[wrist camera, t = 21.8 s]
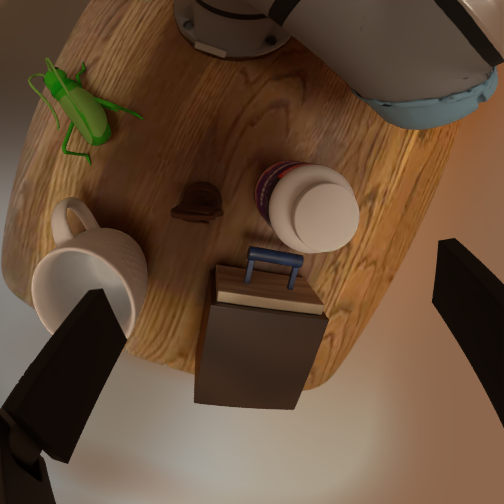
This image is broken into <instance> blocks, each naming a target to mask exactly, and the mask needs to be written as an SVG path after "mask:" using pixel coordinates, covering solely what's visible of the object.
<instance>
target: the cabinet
mask: <svg viewBox="0 0 504 504" xmlns="http://www.w3.org/2000/svg"><path fill="white" fill-rule="evenodd" d="M328 321H329V319H328V318H327V317H326V315H325V313H324V312H322V314H321V315H318V314H309V313H305V314H299V313H291V312H283V311H275V310H267V309H259V308H252V307H244V306H237V305H230V304H223V303H218V301H217V298H216V278H215V271H212V270H210V274H209V280H208V285H207V291H206V297H205V302H204V308H203V314H202V320H201V326H200V332H199V338H198V344H197V351H196V357H195V384H194V403H199V404H207V405H217V406H228V407H241V408H257V409H284V410H294V409H295V406H296V404H297V402H298V399H299V397H300V394H301V392H302V390H303V387H304V385H305V382H306V380H307V377H308V375H309V372H310V370H311V367H312V365H313V362H314V359H315V357H316V354H317V351H318V349H319V346H320V343H321V341H322V338H323V335H324V332H325V330H326V327H327V324H328Z"/></svg>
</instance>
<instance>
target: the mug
mask: <svg viewBox="0 0 504 504" xmlns="http://www.w3.org/2000/svg"><path fill="white" fill-rule="evenodd" d="M67 208H70V209H71V210H72V211H73V212H74V213H75V214H76V215H77V216H78V217H79V219H80V220H81V221H82V223H83V225H84V227H85V229H86V231H85V232H81V233H79V234H76V235H75V236H73V234H72V232H71V230H70V227H69V225H68V222H67V218H66V211H67ZM51 224H52V233H53V238H54V241H55V244H56V245H57V247H56V248H55V249H53V250H52V251H51V252H49V253H48V254H47V255H46V256H45V257H44V258H43V259H42V260H41V261H40V262H39V264H38V265H37V267H36V269H35V271H34V274H33V279H32V286H31V290H32V298H33V303H34V307H35V309H36V312H37V314H38V316H39V318H40V320H41V321H42V323H43V325H44V326H45V327H46V328H47V330H48V331H49V332H50V333H51V334H52V335H53V334H54V333H55V332H56V330H57V329H58V328H59V326H60V325H61V324H62V322H63V321H64V320H65V319H66V317H67V316H68V315H69V314H70V312H71V311H72V310H73V309H74V307H75V306H76V305H77V304H78V302H79V301H80V300H81V299H82V298H83V296H84V295H85V294H86V293H87V292H88V290H92V289H101V288H103V290H104V292H105V294H106V296H107V299H108V301H109V303H110V305H111V307H112V310H113V312H114V314H115V316H116V318H117V320H118V322H119V324H120V326H121V328H122V330H123V332H124V334H125V336H126V338H127V339H128V338H129V336H130V334H131V333H132V331H133V329H134V326H135V323H136V320H137V318H138V317H139V313H140V311H141V308H142V305H143V302H144V298H145V296H146V291H147V283H148V280H147V279H148V273H147V271H148V269H147V263H146V260H145V256H144V254H143V252H142V250H141V248H140V246H139V245H138V244H137V242H136V241H135V240H133V238H132V237H130V236H129V235H127V234H126V233H123V232H122V231H119V230H116V229H111V228H100V227H99V225H98V223H97V221H96V220H95V218H94V216H93V214H92V213H91V211H90V210H89V209H88V207H87V206H86V205H85V204H84V203H83V202H82V201H81V200H79V199H78V198H75V197H69V198H66V199H64V200H62V201H60V202H59V203H58V204H57V205H56V206H55V208H54V210H53V213H52V219H51Z"/></svg>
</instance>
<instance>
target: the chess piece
mask: <svg viewBox="0 0 504 504" xmlns="http://www.w3.org/2000/svg"><path fill="white" fill-rule="evenodd" d="M221 205H222V199H221V195H220V192H219V191H218V190H217V188H216V187H214V186H213V185H211V184H209V183H204V182H200V183H196V184H194V185H192V186H190V187H189V188H188V189H187V190H186V192H185V194H184V196H183V200H182V201H181V202H180V204H179V205H178V206H176V207H174V208H172V209H171V216H172V217H174V218H178V219H182V220H184V221H187V222H193V223H203V224H209V221H211V220H215V217H218V216H223V210H222V209H221Z"/></svg>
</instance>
